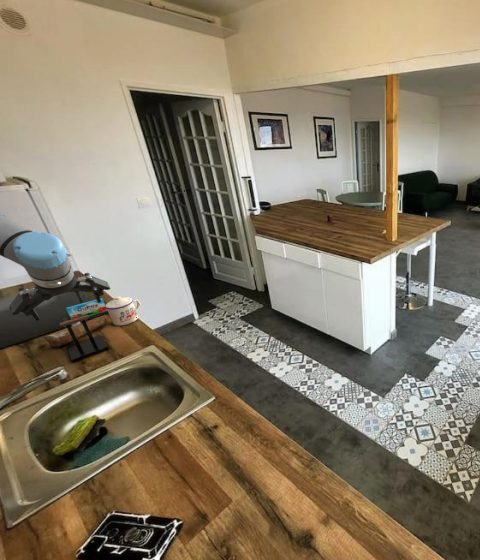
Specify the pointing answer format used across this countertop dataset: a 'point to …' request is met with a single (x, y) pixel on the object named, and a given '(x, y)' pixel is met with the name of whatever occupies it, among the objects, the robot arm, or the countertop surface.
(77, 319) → the slicer arm
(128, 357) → the countertop surface
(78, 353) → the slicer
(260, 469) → the countertop surface
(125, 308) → the teacup with lid
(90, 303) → the blue printed flat box
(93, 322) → the bread
